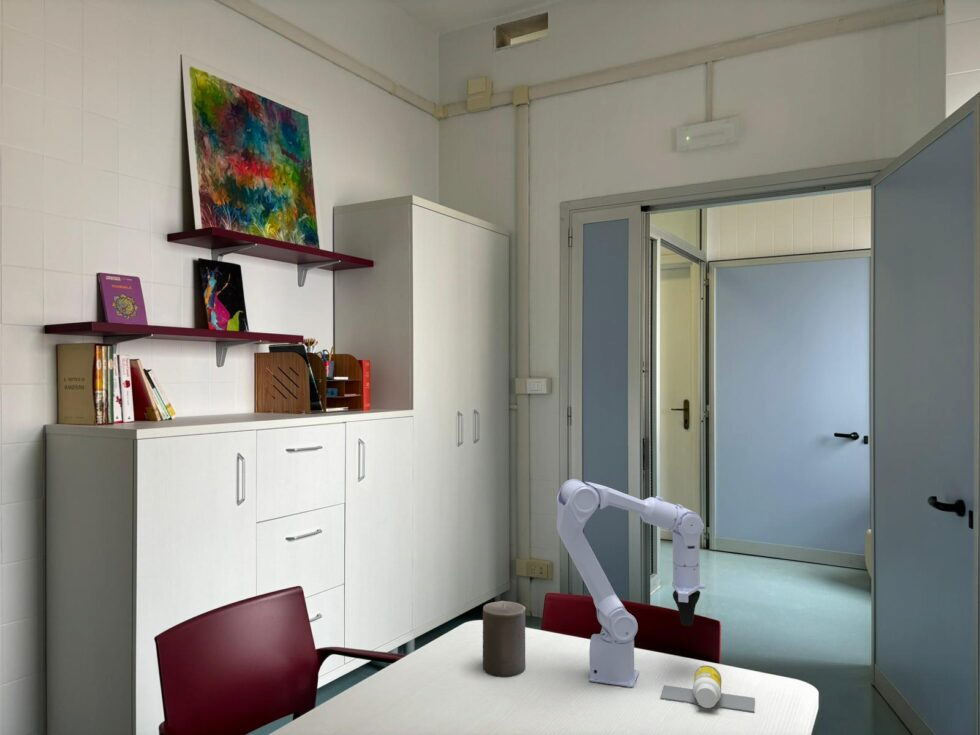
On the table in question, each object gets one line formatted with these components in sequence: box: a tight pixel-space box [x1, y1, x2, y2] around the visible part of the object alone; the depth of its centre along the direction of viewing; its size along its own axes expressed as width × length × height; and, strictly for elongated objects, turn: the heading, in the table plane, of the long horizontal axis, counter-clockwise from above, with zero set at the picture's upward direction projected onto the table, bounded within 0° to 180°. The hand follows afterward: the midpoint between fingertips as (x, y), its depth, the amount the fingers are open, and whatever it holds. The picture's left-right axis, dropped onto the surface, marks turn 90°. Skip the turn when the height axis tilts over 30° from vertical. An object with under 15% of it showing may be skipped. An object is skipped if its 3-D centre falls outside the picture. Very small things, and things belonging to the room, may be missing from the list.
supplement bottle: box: [692, 664, 722, 709], centre depth 145 cm, size 5×5×10 cm
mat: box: [659, 684, 756, 713], centre depth 146 cm, size 18×6×1 cm, turn 69°
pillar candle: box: [482, 600, 527, 678], centre depth 163 cm, size 10×10×15 cm
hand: (687, 624), depth 159 cm, fingers closed
